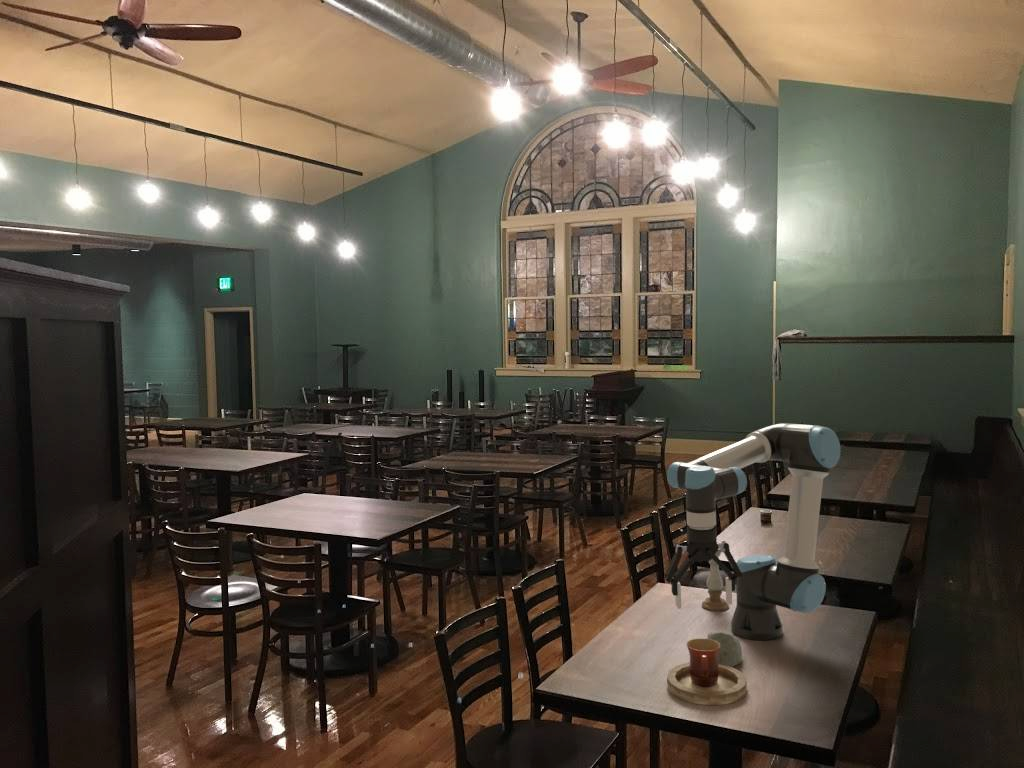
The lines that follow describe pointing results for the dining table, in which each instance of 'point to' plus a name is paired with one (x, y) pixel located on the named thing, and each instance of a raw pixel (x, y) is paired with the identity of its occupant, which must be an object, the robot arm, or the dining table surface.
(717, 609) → the candle holder
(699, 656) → the mug
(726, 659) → the decorative stone
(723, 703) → the round tray
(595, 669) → the dining table surface
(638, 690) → the dining table surface
